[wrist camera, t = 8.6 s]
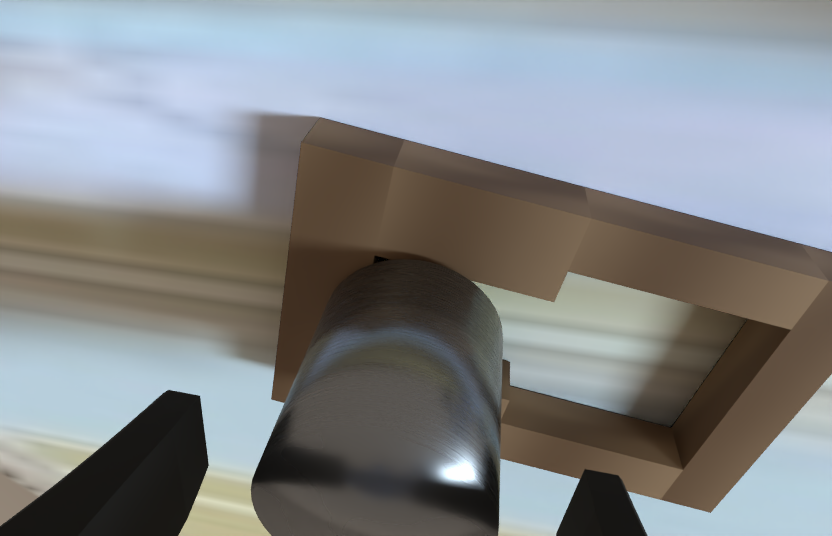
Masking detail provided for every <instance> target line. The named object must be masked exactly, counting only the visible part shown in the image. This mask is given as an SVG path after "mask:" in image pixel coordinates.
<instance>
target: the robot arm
mask: <svg viewBox="0 0 832 536" xmlns="http://www.w3.org/2000/svg"><path fill="white" fill-rule="evenodd" d="M208 466H209V464H208V456H207V448H206V440H205V432H204V424H203V417H202V409H201V401H200V396H198V395H192V394H187V393H182V392H177V391H171V390H168V391H166V392H165V393H163V394H162V395H161V396H160V397H159V398H157V399H156V400H155V401H154V402H153V403H152V404H151V405H149V406H148V407H147V408H146V409H145V410H144V411H143V412H141V413H140V414H139V415H138V416H137V417H136V418H135V419H133V420H132V421H131V422H130V423H129V424H128V425H126V426H125V427H124V428H123V429H122V430H121V431H120V432H118V433H117V434H116V435H115V436H114V437H112V438H111V439H110V440H109V441H108V442H107V443H105V444H104V445H103V446H102V447H101V448H100V449H98V450H97V451H96V452H95V453H93V454H92V455H91V456H90V457H89V458H87V459H86V460H85V461H84V462H82V463H81V464H80V465H79V466H78V467H76V468H75V469H74V470H73V471H71V472H70V473H69V474H68V475H67V476H65V477H64V478H63V479H62V480H60V481H59V482H58V483H57V484H55V485H54V486H53V487H52V488H50V489H49V490H48V491H46V492H45V493H44V494H42V495H41V496H40V497H38V498H37V499H36V500H35V501H33V502H32V503H30V504H29V505H28V506H26V507H25V508H24V509H22V510H21V511H20V512H19V513H17V514H16V515H15V516H13V517H12V518H11V519H9V520H8V521H7V522H5V523H4V524H2V525H1V526H0V536H178V535H179V533H180V531H181V529H182V527H183V526H184V524H185V522H186V520H187V518H188V516H189V513H190V511H191V508H192V506H193V504H194V501H195V499H196V496H197V494H198V491H199V489H200V486H201V484H202V481H203V479H204V476H205V474H206V471H207V468H208ZM556 536H647V534H646V532H645V529H644V527H643V525H642V523H641V521H640V519H639V517H638V514H637V512H636V510H635V508H634V506H633V503H632V501H631V499H630V497H629V494H628V492H627V490H626V487H625V485H624V483H623V481H622V479H621V478H620V477H619V475H615V474H609V473H604V472H599V471H593V470H588V469H584V472H583V474H582V476H581V479H580V481H579V483H578V485H577V488H576V490H575V492H574V495H573V497H572V499H571V501H570V504H569V506H568V508H567V510H566V513H565V515H564V517H563V520H562V522H561V524H560V526H559V529H558V531H557V533H556Z"/></svg>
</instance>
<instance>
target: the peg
mask: <svg viewBox="0 0 832 536" xmlns="http://www.w3.org/2000/svg"><path fill="white" fill-rule="evenodd" d="M502 354H503V333H502V326H501V322H500V318H499V316H498V314H497V311H496V309H495V307H494V306H493V304H492V303H491V301H490V299H489V298H488V297H487V296H486V295H485V294H484V292H483V291H482V290H481V289H480V288H478V287H477V286H476V285H475V284H474V283H473V282H471V281H470V280H468V279H467V278H466V277H464V276H462V275H461V274H459V273H457V272H455V271H453V270H451V269H449V268H446V267H444V266H441V265H438V264H434V263H431V262H426V261H420V260H409V259H398V260H391V259H389V260H387V261H382V262H377V263H374V264H371V265H368V266H365V267H363V268H361V269H359V270H357V271H355V272H354V273H352V274H350V275H349V276H348V277H346V278H345V279H344V280H343V281H342V282H341V283H340V284H339V285H338V286H337V287H336V288H335V290H334V291H333V293H332V295H331V296H330V298H329V300H328V303H327V305H326V307H325V310H324V312H323V314H322V317H321V319H320V321H319V324H318V326H317V329H316V331H315V333H314V336H313V338H312V340H311V343H310V345H309V347H308V350H307V352H306V354H305V357H304V359H303V361H302V364H301V366H300V368H299V371H298V373H297V375H296V378H295V380H294V382H293V385H292V387H291V389H290V392H289V394H288V396H287V399H286V401H285V403H284V406H283V408H282V410H281V413H280V415H279V417H278V420H277V422H276V425H275V427H274V429H273V432H272V434H271V436H270V439H269V441H268V443H267V446H266V448H265V450H264V453H263V455H262V457H261V460H260V462H259V464H258V467H257V469H256V471H255V474H254V477H253V479H252V485H251V497H252V502H253V506H254V509H255V511H256V514H257V516H258V518H259V520H260V521H261V523H262V524H263V526H264V527H265V528H266V530H267V531H268V532H269V533H270V534H271V535H272V536H498V529H499V492H500V446H501V400H502Z"/></svg>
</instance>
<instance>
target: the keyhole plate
mask: <svg viewBox="0 0 832 536" xmlns="http://www.w3.org/2000/svg"><path fill="white" fill-rule="evenodd" d="M378 257H383V258H387V259H391V260H398V259H409V260H420V261H426V262H431V263H434V264H438V265H441V266H444V267H446V268H449V269H451V270H453V271H455V272H457V273H459V274H461V275H462V276H464V277H466V278H467V279H468V280H471V281H475V282H479V283H483V284H486V285H490V286H494V287H498V288H502V289H505V290H509V291H513V292H517V293H521V294H525V295H528V296H532V297H536V298H540V299H544V300H548V301H551V302H554V301H555V299H556V297H557V294H558V292H559V290H560V288H561V285H562V283H563V281H564V279H565V277H566V274H567V272H572V273H576V274H580V275H584V276H587V277H591V278H595V279H599V280H603V281H606V282H610V283H614V284H618V285H622V286H626V287H629V288H633V289H637V290H641V291H645V292H648V293H652V294H656V295H660V296H664V297H668V298H671V299H675V300H679V301H683V302H687V303H690V304H694V305H698V306H702V307H706V308H710V309H713V310H717V311H721V312H725V313H729V314H733V315H736V316H740V317H744V318H748V320H747V321H746V323H745V324H744V325H743V327H742V328H741V330H740V331H739V333H738V334H737V335H736V337H735V338H734V340H733V341H732V343H731V344H730V345H729V347H728V348H727V350H726V351H725V352H724V354H723V355H722V357H721V358H720V360H719V361H718V362H717V364H716V365H715V367H714V368H713V369H712V371H711V372H710V374H709V375H708V377H707V378H706V379H705V381H704V382H703V384H702V385H701V386H700V388H699V389H698V391H697V392H696V394H695V395H694V396H693V398H692V399H691V401H690V402H689V403H688V405H687V406H686V408H685V409H684V411H683V412H682V413H681V415H680V416H679V418H678V419H677V420H676V422H675V423H674V425H673V426H672V428H670V427H666V426H662V425H658V424H654V423H650V422H647V421H643V420H639V419H635V418H631V417H627V416H623V415H620V414H616V413H612V412H608V411H604V410H600V409H596V408H593V407H589V406H585V405H581V404H577V403H573V402H569V401H566V400H562V399H558V398H554V397H550V396H546V395H542V394H539V393H535V392H531V391H527V390H523V389H519V388H515V387H512V386H510V362H508V361H504V360H502V400H501V446H500V458H501V459H505V460H508V461H512V462H516V463H520V464H524V465H528V466H532V467H536V468H539V469H543V470H547V471H551V472H555V473H559V474H563V475H567V476H571V477H574V478H578V479H581V476H582V474H583V472H584V469H588V470H593V471H599V472H604V473H609V474H615V475H619V477H620V478H621V479H622V481H623V483H624V485H625V487H626V490H627V491H629V492H633V493H636V494H640V495H644V496H648V497H652V498H656V499H660V500H664V501H668V502H671V503H675V504H679V505H683V506H687V507H691V508H695V509H699V510H702V511H706V512H710V513H711V512H712V511H713V509H714V508H715V507H716V506H717V505H718V504H719V502H720V501H721V500H722V499H723V498H724V497H725V496H726V494H727V493H728V492H729V491H730V490H731V489H732V488H733V486H734V485H735V484H736V483H737V482H738V481H739V480H740V478H741V477H742V476H743V475H744V474H745V473H746V472H747V470H748V469H749V468H750V467H751V466H752V465H753V463H754V462H755V461H756V460H757V459H758V458H759V457H760V455H761V454H762V453H763V452H764V451H765V450H766V449H767V447H768V446H769V445H770V444H771V443H772V442H773V441H774V439H775V438H776V437H777V436H778V435H779V434H780V432H781V431H782V430H783V429H784V428H785V427H786V426H787V424H788V423H789V422H790V421H791V420H792V419H793V418H794V416H795V415H796V414H797V413H798V412H799V411H800V410H801V408H802V407H803V406H804V405H805V404H806V403H807V401H808V400H809V399H810V398H811V397H812V396H813V395H814V393H815V392H816V391H817V390H818V389H819V388H820V387H821V385H822V384H823V383H824V382H825V381H826V380H827V379H828V377H829V376H830V375H831V374H832V252H828V251H824V250H821V249H817V248H813V247H809V246H805V245H802V244H798V243H794V242H790V241H786V240H783V239H779V238H775V237H771V236H767V235H764V234H760V233H756V232H752V231H749V230H745V229H741V228H737V227H733V226H730V225H726V224H722V223H718V222H714V221H711V220H707V219H703V218H699V217H695V216H692V215H688V214H684V213H680V212H676V211H673V210H669V209H665V208H661V207H657V206H654V205H650V204H646V203H642V202H638V201H635V200H631V199H627V198H623V197H619V196H616V195H612V194H608V193H604V192H601V191H597V190H593V189H589V188H585V187H582V186H578V185H574V184H570V183H566V182H563V181H559V180H555V179H551V178H547V177H544V176H540V175H536V174H532V173H528V172H525V171H521V170H517V169H513V168H509V167H506V166H502V165H498V164H494V163H490V162H487V161H483V160H479V159H475V158H471V157H468V156H464V155H460V154H456V153H453V152H449V151H445V150H441V149H437V148H434V147H430V146H426V145H422V144H418V143H415V142H411V141H407V140H403V139H399V138H396V137H392V136H388V135H384V134H380V133H377V132H373V131H369V130H365V129H361V128H358V127H354V126H350V125H346V124H342V123H339V122H335V121H331V120H327V119H323V118H320V119H319V120H318V121H317V122H316V124H315V125H314V126H313V128H312V129H311V130H310V132H309V133H308V134H307V135H306V137H305V138H304V139H303V141H302V142H301V148H300V157H299V166H298V174H297V183H296V191H295V200H294V209H293V217H292V226H291V234H290V243H289V252H288V260H287V269H286V277H285V286H284V295H283V303H282V312H281V321H280V329H279V338H278V346H277V355H276V364H275V372H274V381H273V389H272V398H271V399H272V400H276V401H279V402H283V403H285V401H286V399H287V396H288V394H289V392H290V389H291V387H292V385H293V382H294V380H295V378H296V375H297V373H298V371H299V368H300V366H301V364H302V361H303V359H304V357H305V354H306V352H307V350H308V347H309V345H310V343H311V340H312V338H313V336H314V333H315V331H316V329H317V326H318V324H319V321H320V319H321V317H322V314H323V312H324V310H325V307H326V305H327V303H328V300H329V298H330V296H331V295H332V293H333V291H334V290H335V288H336V287H337V286H338V285H339V284H340V283H341V282H342V281H343V280H344V279H345V278H346V277H348V276H349V275H350V274H352V273H354V272H355V271H357V270H359V269H361V268H363V267H365V266H368V265H371V264H374V263H377V261H378Z"/></svg>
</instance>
